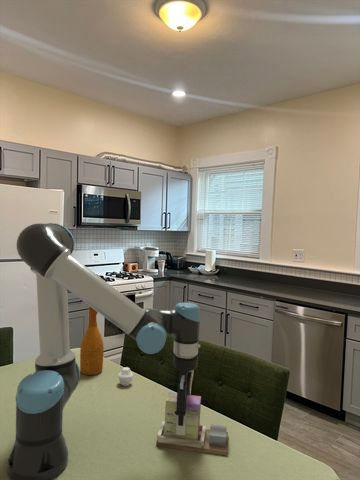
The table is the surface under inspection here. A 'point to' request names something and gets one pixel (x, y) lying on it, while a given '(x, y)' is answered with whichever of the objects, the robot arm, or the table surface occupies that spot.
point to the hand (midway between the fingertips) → (182, 427)
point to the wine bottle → (91, 348)
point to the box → (191, 417)
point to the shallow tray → (207, 440)
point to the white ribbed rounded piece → (125, 376)
